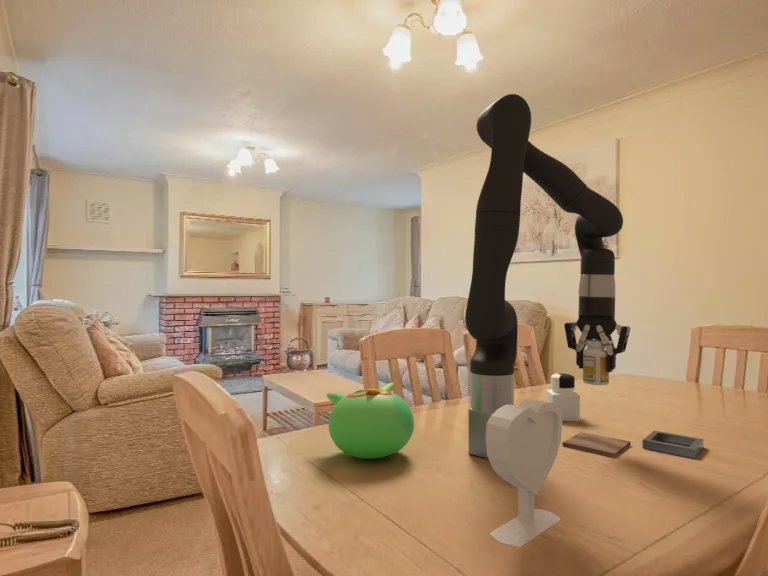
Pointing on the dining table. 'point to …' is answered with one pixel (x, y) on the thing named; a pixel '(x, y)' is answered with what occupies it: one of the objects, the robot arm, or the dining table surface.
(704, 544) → the dining table surface
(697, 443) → the square frame
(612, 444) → the coaster
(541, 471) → the heart sculpture
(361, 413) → the green rounded blob
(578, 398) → the medicine bottle
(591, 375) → the supplement bottle
